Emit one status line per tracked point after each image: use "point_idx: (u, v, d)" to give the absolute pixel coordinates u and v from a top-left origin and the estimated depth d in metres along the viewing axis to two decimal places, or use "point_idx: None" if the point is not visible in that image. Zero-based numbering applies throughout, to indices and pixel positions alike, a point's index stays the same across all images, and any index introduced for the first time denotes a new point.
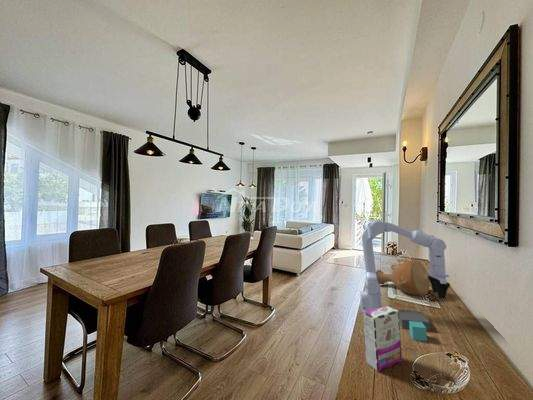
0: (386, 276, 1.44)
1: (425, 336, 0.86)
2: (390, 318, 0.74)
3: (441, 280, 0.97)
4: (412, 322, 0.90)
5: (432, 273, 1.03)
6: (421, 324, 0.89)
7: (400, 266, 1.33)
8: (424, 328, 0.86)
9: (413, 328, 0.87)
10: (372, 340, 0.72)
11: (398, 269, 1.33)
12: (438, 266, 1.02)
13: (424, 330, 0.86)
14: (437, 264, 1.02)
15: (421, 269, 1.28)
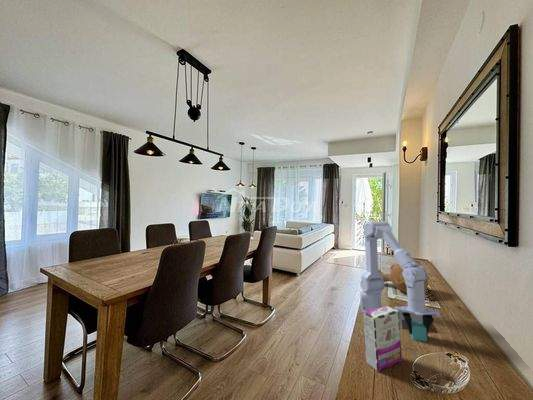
0: (384, 275, 1.45)
1: (425, 336, 0.86)
2: (390, 318, 0.74)
3: (395, 308, 0.92)
4: (412, 322, 0.90)
5: None
6: (421, 324, 0.88)
7: (398, 266, 1.34)
8: (424, 328, 0.86)
9: (413, 328, 0.87)
10: (372, 340, 0.72)
11: (396, 269, 1.34)
12: (407, 297, 0.90)
13: (424, 330, 0.86)
14: (408, 296, 0.89)
15: None
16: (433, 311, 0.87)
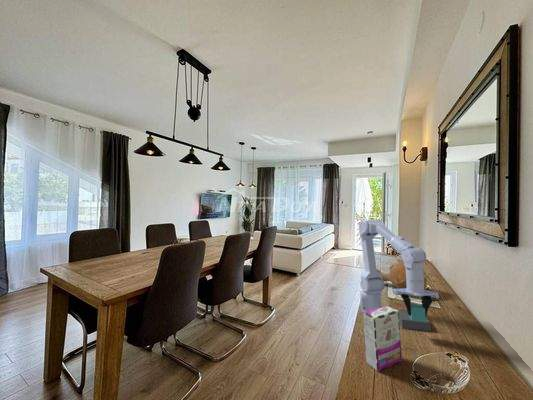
0: (383, 275, 1.45)
1: (424, 317, 0.86)
2: (389, 318, 0.74)
3: (394, 290, 0.92)
4: (411, 304, 0.91)
5: None
6: (420, 305, 0.89)
7: (397, 265, 1.35)
8: (423, 309, 0.86)
9: (412, 309, 0.87)
10: (372, 340, 0.72)
11: (396, 268, 1.34)
12: (406, 279, 0.91)
13: (423, 311, 0.86)
14: (407, 277, 0.89)
15: None
16: (432, 292, 0.87)
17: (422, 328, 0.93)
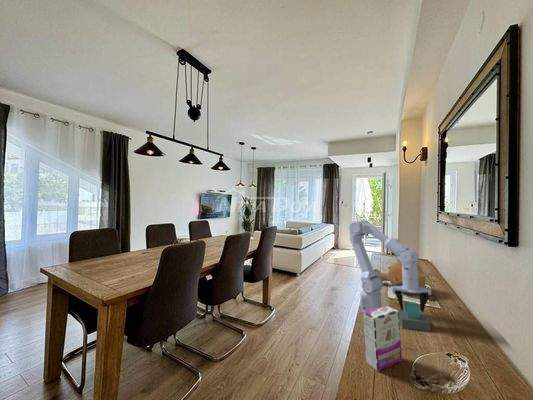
0: (382, 275, 1.46)
1: (418, 314, 0.96)
2: (389, 318, 0.74)
3: (391, 287, 1.02)
4: (407, 302, 1.00)
5: None
6: (415, 303, 0.99)
7: (396, 265, 1.35)
8: (417, 306, 0.96)
9: (407, 307, 0.97)
10: (372, 340, 0.72)
11: (394, 268, 1.35)
12: (402, 277, 1.01)
13: (417, 308, 0.96)
14: (405, 277, 0.98)
15: (417, 268, 1.30)
16: (425, 289, 0.97)
17: (422, 328, 0.93)
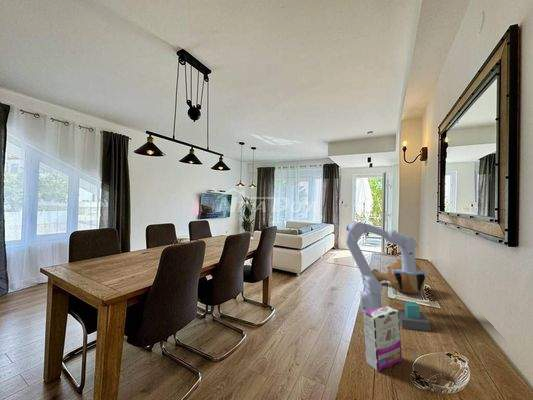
0: (381, 274, 1.46)
1: (418, 314, 0.96)
2: (390, 318, 0.74)
3: (392, 270, 1.15)
4: (407, 302, 1.00)
5: None
6: (415, 303, 0.99)
7: (395, 265, 1.36)
8: (417, 306, 0.96)
9: (407, 307, 0.97)
10: (372, 340, 0.72)
11: (393, 268, 1.35)
12: None
13: (417, 308, 0.96)
14: (409, 261, 1.09)
15: (416, 268, 1.31)
16: (422, 271, 1.10)
17: (422, 328, 0.93)
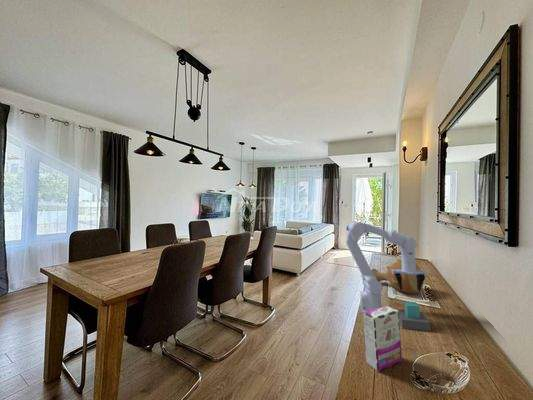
0: (381, 274, 1.47)
1: (418, 314, 0.96)
2: (390, 318, 0.74)
3: (392, 270, 1.15)
4: (407, 302, 1.00)
5: None
6: (415, 303, 0.99)
7: (395, 265, 1.36)
8: (417, 306, 0.96)
9: (407, 307, 0.97)
10: (372, 340, 0.72)
11: (393, 268, 1.36)
12: None
13: (417, 308, 0.96)
14: (409, 261, 1.09)
15: None
16: (422, 271, 1.10)
17: (422, 328, 0.93)
